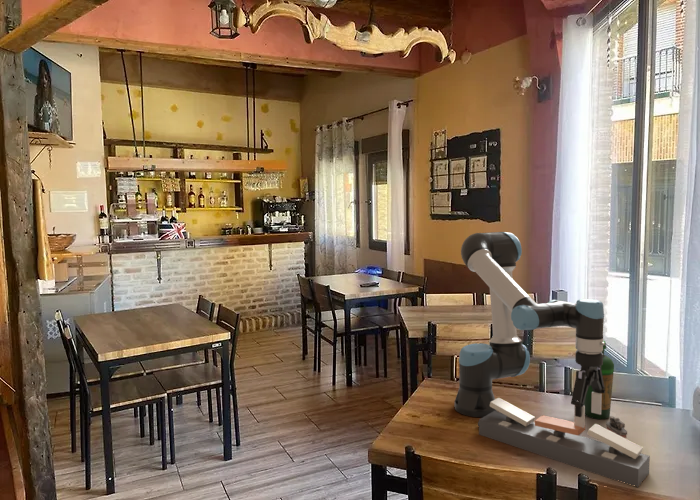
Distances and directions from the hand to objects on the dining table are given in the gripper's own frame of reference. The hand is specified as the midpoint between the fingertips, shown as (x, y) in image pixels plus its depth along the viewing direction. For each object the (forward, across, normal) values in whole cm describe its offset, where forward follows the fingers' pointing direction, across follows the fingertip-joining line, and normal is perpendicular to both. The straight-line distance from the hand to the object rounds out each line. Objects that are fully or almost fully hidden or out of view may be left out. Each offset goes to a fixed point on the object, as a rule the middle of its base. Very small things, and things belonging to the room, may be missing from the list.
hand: (588, 419), depth 156 cm
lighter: (+9, +4, -7) cm, 12 cm away
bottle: (+9, +28, +7) cm, 30 cm away
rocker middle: (+1, -7, +6) cm, 9 cm away
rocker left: (+1, -7, +21) cm, 22 cm away
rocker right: (+1, -7, -10) cm, 12 cm away
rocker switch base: (+9, -9, +7) cm, 14 cm away
